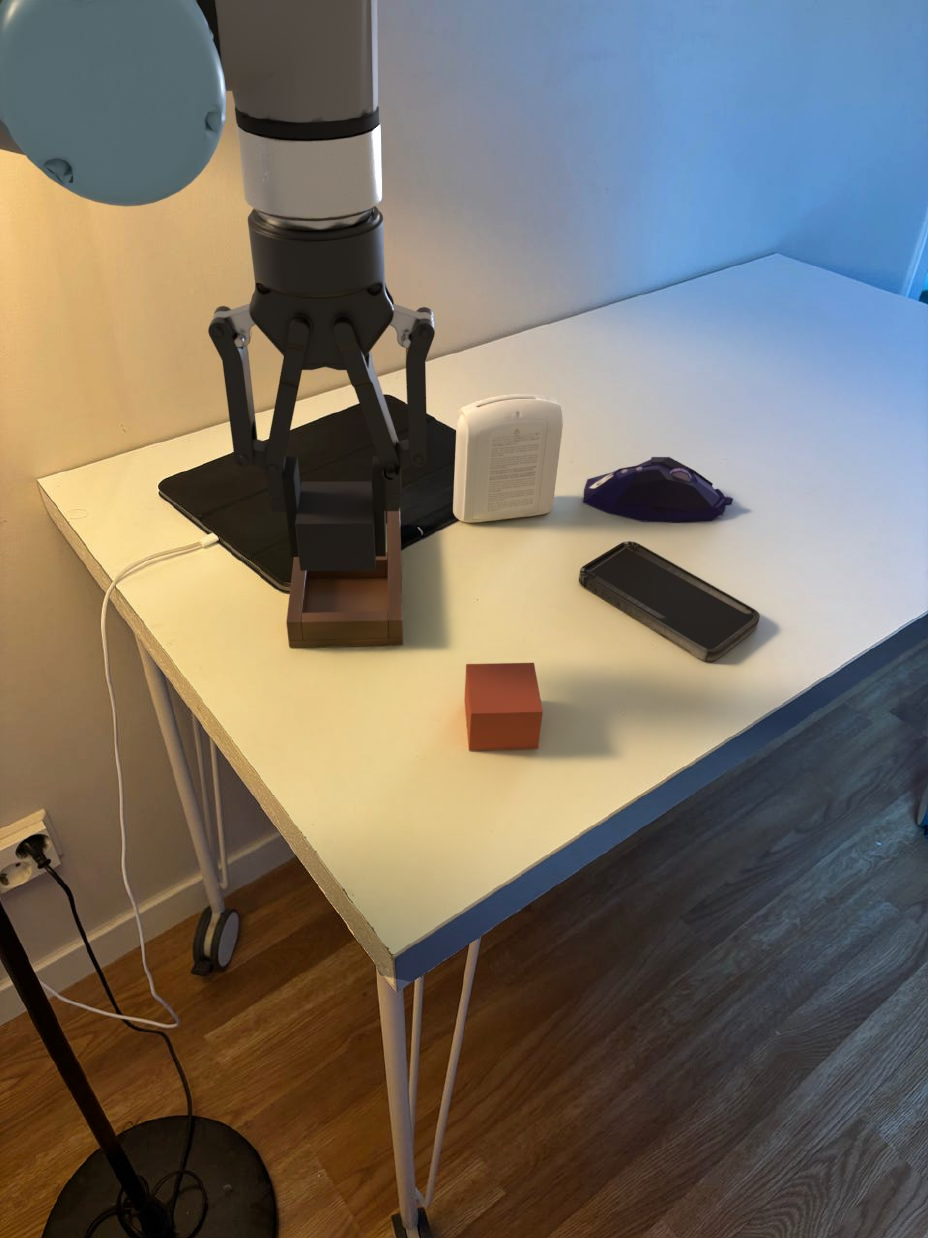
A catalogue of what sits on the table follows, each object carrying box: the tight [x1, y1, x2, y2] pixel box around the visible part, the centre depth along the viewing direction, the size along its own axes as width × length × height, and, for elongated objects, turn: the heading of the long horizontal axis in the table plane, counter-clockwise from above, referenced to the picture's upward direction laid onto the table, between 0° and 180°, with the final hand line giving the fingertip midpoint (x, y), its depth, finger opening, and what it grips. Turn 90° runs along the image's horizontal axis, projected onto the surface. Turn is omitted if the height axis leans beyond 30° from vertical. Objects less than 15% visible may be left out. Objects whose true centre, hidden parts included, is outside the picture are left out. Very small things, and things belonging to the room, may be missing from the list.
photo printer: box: [452, 393, 564, 523], centre depth 91 cm, size 10×4×12 cm, turn 105°
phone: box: [578, 540, 761, 663], centre depth 84 cm, size 8×1×15 cm
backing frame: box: [285, 508, 404, 648], centre depth 85 cm, size 9×18×3 cm, turn 4°
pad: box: [463, 662, 544, 752], centre depth 72 cm, size 5×5×4 cm
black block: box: [295, 481, 376, 571], centre depth 67 cm, size 5×5×4 cm
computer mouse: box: [582, 456, 734, 524], centre depth 96 cm, size 9×15×4 cm, turn 79°
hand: (339, 544), depth 68 cm, fingers closed on black block, 5 cm apart
